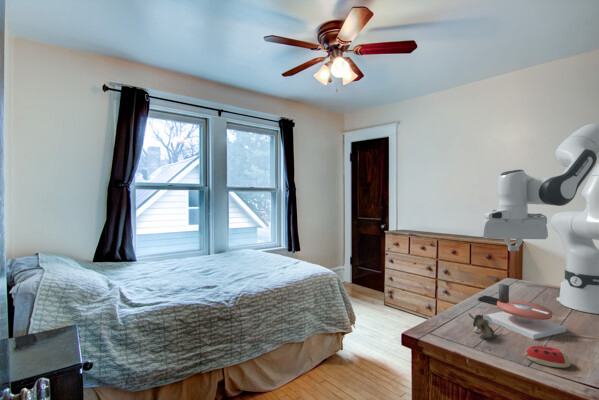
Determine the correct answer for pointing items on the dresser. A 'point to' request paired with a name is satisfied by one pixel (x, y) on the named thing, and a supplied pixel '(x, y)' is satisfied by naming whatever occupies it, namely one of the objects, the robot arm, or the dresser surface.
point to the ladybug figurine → (548, 356)
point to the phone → (489, 300)
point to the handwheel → (521, 306)
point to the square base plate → (526, 325)
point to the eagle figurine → (483, 327)
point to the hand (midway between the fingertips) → (513, 250)
